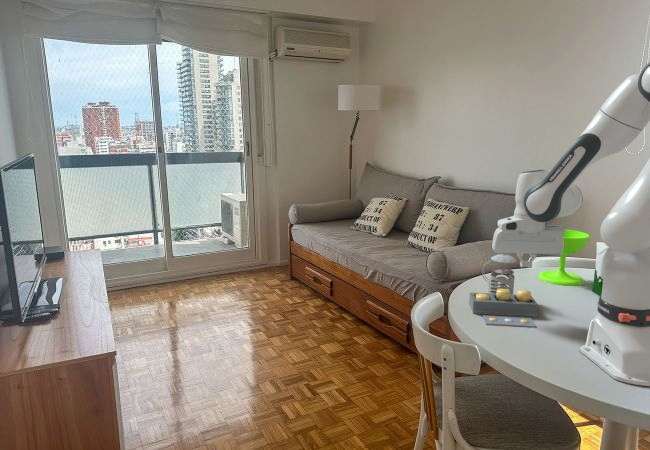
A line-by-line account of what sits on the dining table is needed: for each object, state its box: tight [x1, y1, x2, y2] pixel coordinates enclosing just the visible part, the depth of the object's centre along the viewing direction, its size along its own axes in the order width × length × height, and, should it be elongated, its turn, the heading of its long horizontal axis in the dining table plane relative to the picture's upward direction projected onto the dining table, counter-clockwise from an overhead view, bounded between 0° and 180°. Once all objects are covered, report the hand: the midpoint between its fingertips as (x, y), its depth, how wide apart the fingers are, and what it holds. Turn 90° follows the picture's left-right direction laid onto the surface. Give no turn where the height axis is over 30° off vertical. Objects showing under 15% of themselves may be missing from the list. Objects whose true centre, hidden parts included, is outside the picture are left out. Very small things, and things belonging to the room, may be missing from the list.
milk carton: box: [591, 241, 612, 297], centre depth 155 cm, size 9×9×20 cm
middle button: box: [496, 289, 510, 301], centre depth 143 cm, size 4×4×3 cm
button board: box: [468, 292, 539, 328], centre depth 140 cm, size 16×19×4 cm
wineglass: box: [537, 229, 590, 287], centre depth 173 cm, size 16×16×18 cm
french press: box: [481, 253, 517, 295], centre depth 153 cm, size 10×12×25 cm
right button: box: [516, 289, 532, 302], centre depth 142 cm, size 4×4×3 cm
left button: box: [476, 294, 489, 300], centre depth 145 cm, size 4×4×3 cm
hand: (525, 266), depth 140 cm, fingers closed
